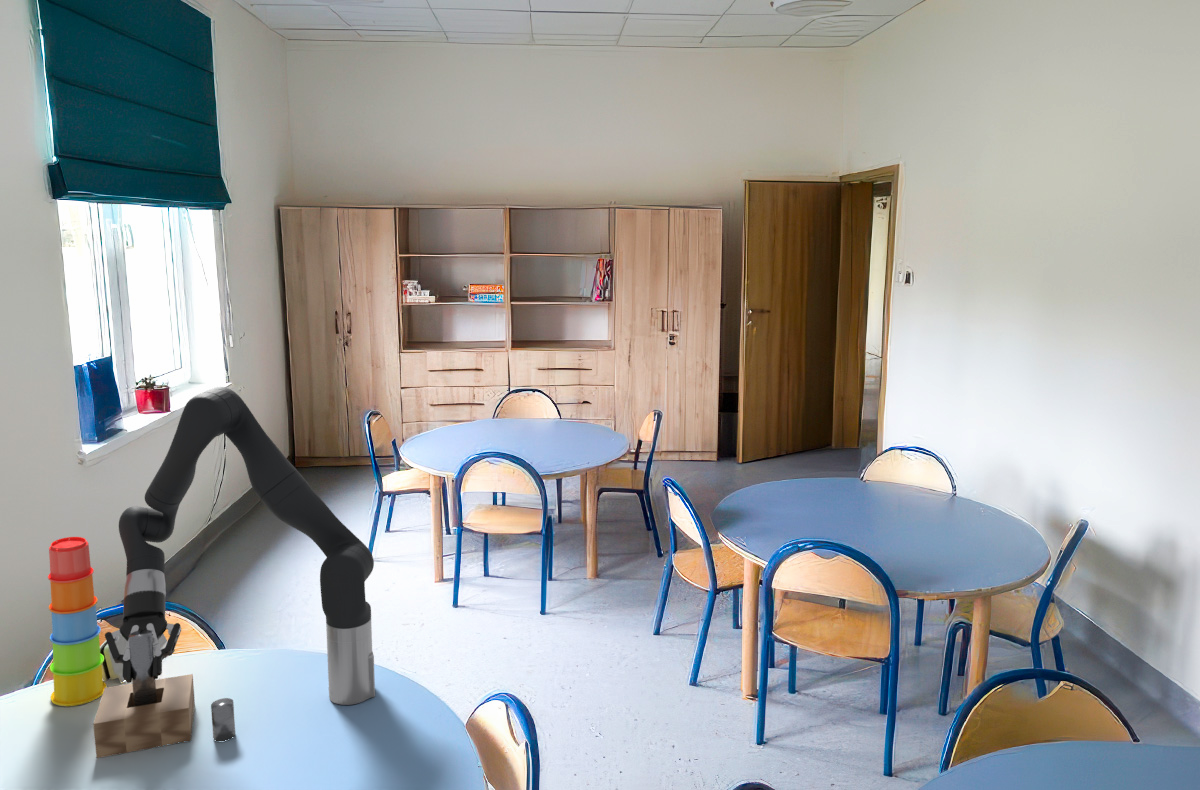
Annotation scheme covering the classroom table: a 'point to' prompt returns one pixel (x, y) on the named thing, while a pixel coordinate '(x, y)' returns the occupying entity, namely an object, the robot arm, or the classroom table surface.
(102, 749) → the bore block
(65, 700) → the stacking cups
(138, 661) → the long pin
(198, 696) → the classroom table surface
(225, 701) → the short pin
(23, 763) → the classroom table surface
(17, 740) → the classroom table surface
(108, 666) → the grey curved housing
